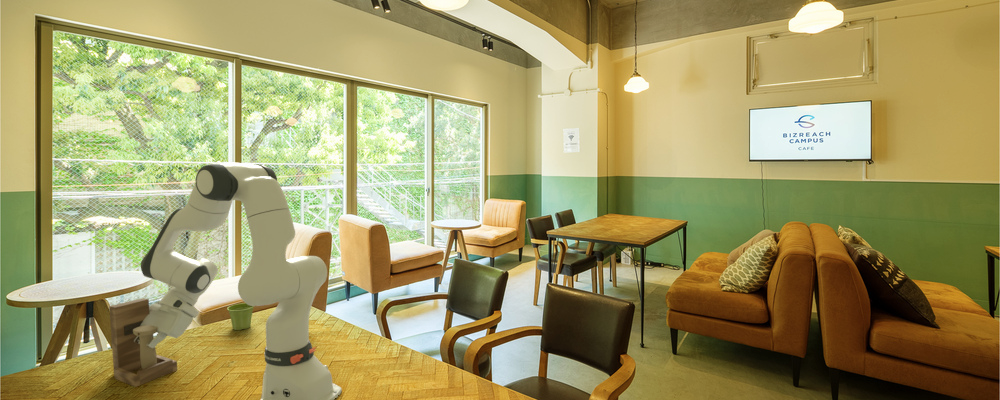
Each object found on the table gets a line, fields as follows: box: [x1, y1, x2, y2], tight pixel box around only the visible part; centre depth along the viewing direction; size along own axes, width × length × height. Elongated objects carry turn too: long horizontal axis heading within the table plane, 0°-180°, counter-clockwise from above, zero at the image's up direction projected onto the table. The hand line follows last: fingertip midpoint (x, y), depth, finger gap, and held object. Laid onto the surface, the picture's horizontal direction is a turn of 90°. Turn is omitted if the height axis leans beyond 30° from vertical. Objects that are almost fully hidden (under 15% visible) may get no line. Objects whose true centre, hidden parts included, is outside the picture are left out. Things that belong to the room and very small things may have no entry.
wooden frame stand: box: [108, 297, 178, 388], centre depth 135 cm, size 14×11×22 cm
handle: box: [133, 325, 158, 370], centre depth 134 cm, size 5×6×15 cm
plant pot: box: [226, 302, 255, 331], centre depth 173 cm, size 9×9×9 cm
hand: (143, 345), depth 133 cm, fingers open, 5 cm apart
